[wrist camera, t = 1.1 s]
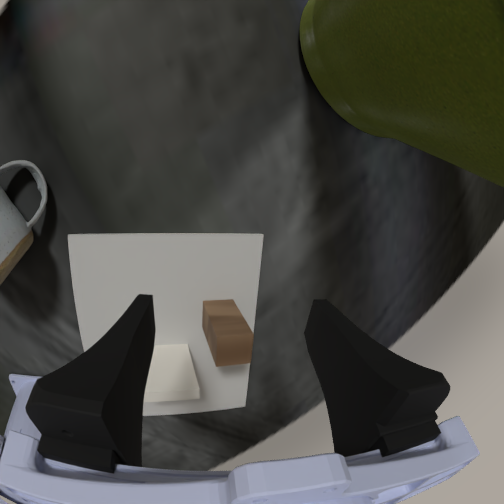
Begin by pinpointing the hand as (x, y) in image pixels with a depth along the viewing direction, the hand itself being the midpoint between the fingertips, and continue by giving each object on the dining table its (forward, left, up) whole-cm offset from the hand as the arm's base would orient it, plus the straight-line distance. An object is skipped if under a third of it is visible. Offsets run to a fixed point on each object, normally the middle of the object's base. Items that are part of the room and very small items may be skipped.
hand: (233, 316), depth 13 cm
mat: (-11, +2, -15) cm, 19 cm away
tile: (-12, +3, -15) cm, 19 cm away
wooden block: (-8, -3, -15) cm, 17 cm away
